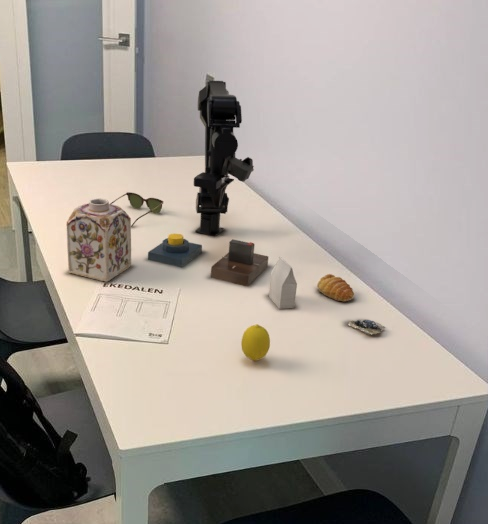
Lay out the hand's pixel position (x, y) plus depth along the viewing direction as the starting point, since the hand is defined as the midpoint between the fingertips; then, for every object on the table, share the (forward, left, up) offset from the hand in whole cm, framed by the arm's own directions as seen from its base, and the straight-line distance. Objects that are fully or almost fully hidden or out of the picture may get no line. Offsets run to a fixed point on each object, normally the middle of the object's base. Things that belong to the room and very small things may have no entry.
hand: (217, 206), depth 177 cm
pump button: (+8, -8, -9) cm, 15 cm away
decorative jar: (+26, -20, -13) cm, 35 cm away
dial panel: (+9, +11, -13) cm, 19 cm away
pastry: (+9, +36, -13) cm, 39 cm away
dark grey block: (+9, +11, -10) cm, 17 cm away
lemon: (+48, +30, -13) cm, 58 cm away
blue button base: (+8, -8, -13) cm, 17 cm away
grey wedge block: (+20, +26, -13) cm, 35 cm away
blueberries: (+24, +44, -10) cm, 51 cm away
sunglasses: (-13, -34, -13) cm, 39 cm away
